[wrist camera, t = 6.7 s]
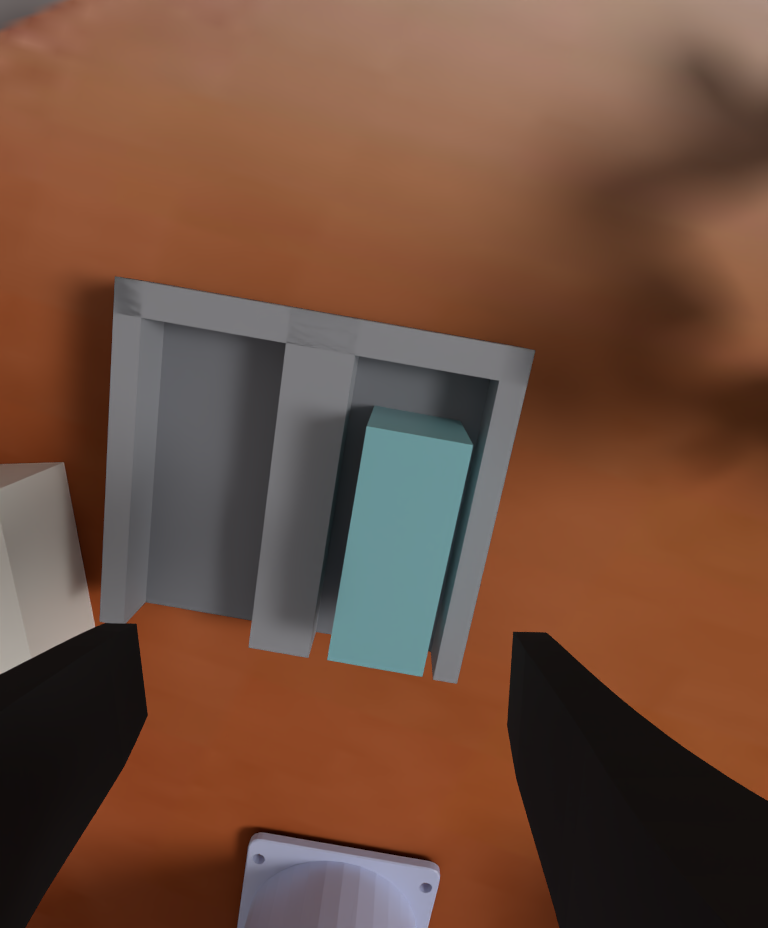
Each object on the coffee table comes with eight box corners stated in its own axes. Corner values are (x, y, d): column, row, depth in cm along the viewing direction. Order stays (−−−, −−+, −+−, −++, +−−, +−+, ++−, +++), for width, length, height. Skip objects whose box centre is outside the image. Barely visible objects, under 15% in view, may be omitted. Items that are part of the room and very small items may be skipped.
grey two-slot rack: (451, 642, 21) (456, 683, 18) (134, 587, 21) (99, 621, 18) (518, 346, 18) (535, 350, 16) (152, 282, 18) (114, 276, 16)
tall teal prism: (419, 613, 20) (422, 676, 16) (341, 599, 20) (327, 659, 16) (460, 420, 18) (473, 445, 14) (374, 405, 18) (366, 426, 14)
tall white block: (99, 636, 22) (39, 697, 18) (29, 637, 22) (-43, 698, 18) (66, 460, 20) (-7, 491, 16) (-10, 463, 20) (-98, 493, 16)
